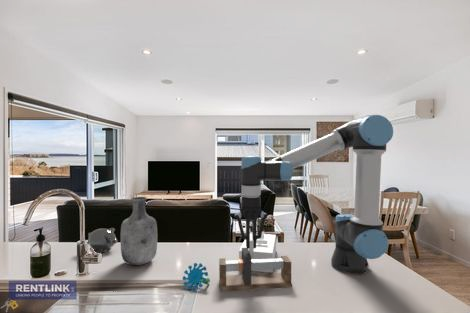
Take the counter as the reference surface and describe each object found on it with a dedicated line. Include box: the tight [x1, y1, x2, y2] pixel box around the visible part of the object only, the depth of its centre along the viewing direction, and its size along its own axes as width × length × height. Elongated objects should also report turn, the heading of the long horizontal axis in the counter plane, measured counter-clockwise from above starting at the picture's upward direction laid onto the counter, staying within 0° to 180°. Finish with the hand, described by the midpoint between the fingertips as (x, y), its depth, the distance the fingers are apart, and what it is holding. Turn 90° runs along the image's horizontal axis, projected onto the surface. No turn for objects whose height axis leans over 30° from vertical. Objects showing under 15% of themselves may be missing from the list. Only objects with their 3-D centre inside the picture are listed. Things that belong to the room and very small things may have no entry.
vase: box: [120, 196, 158, 266], centre depth 123 cm, size 16×16×30 cm
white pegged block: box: [238, 231, 277, 273], centre depth 126 cm, size 14×25×11 cm, turn 168°
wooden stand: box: [218, 255, 293, 292], centre depth 104 cm, size 27×10×9 cm, turn 95°
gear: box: [182, 262, 211, 291], centre depth 103 cm, size 11×6×10 cm
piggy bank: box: [87, 227, 119, 254], centre depth 138 cm, size 11×15×12 cm
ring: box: [241, 248, 252, 284], centre depth 104 cm, size 2×10×10 cm, turn 5°
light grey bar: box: [226, 257, 284, 273], centre depth 104 cm, size 25×3×3 cm, turn 95°
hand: (251, 256), depth 104 cm, fingers closed
